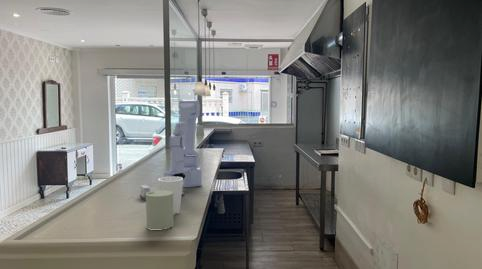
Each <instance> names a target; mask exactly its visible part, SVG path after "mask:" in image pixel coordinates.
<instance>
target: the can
mask: <svg viewBox="0 0 482 269" xmlns="http://www.w3.org/2000/svg"><path fill="white" fill-rule="evenodd" d="M149 191H150V190H149ZM145 204H146V205H145V206H146V207H145V210H146V212H145V213H146V227H147V228H150V229H165V228H170V227H172V226H173V227H174V226H175V223H174V214H173V192H172V191H169V190H159V189H156V190H151V191H150V192H147V193H146V201H145ZM146 227H145V228H146ZM173 227H172V228H173ZM147 228H146V229H147Z"/></svg>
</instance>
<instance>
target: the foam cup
mask: <svg viewBox="0 0 482 269" xmlns="http://www.w3.org/2000/svg"><path fill="white" fill-rule="evenodd" d="M157 186H158V190H169V191H172V192H173V215H176V214H175V213H177V214H179V213H180V211H181V202H182V196H181V195H182V192H183V188H184V187H183V178H182V177H170V176H169V177H164V176H163V177H159V178H158V179H157Z"/></svg>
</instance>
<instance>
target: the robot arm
mask: <svg viewBox="0 0 482 269" xmlns="http://www.w3.org/2000/svg"><path fill="white" fill-rule="evenodd" d="M178 110H179V113H180V114H179V118H178V122H177V123H175V126H174V129H173V132H172V135H171V136H169V138H168V145H169V151H170V153H171V156H170V157H171V162H170V163H171V164H170V165H171V167H170V168H171V169H170V170H168V171H165V172H163V177H182V178H183V187H182V188H192V187H201V186H203V184H202V170H201V168H200V163H201V161H200V160H201V159H200V154H199V152H198V151H197V150H196V149H195V144H196V143H195V142H196V139H195V138H196V121H197V118H199V117H200V114H201V103H200V101H199V99H179V102H178Z"/></svg>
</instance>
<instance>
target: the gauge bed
mask: <svg viewBox="0 0 482 269" xmlns="http://www.w3.org/2000/svg"><path fill="white" fill-rule="evenodd" d="M147 192H150V187H149V186H148V185H147V184H143V185H140V193H139V196H140V197H141V198H142V199H143V200H144V201H145V202H146V193H147ZM185 196H186V193H185V192H183V191H182V195H181V197H185Z"/></svg>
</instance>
